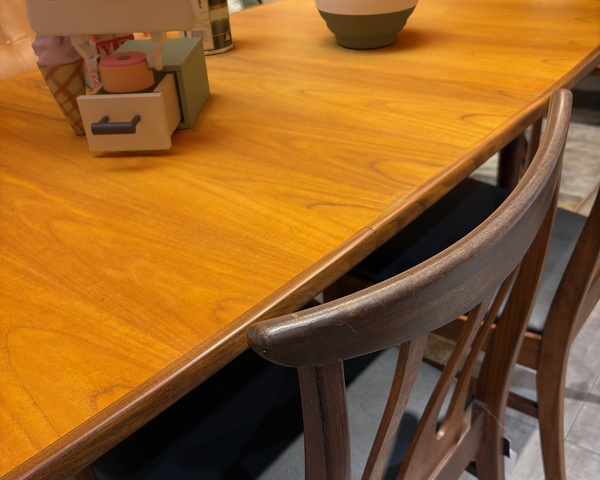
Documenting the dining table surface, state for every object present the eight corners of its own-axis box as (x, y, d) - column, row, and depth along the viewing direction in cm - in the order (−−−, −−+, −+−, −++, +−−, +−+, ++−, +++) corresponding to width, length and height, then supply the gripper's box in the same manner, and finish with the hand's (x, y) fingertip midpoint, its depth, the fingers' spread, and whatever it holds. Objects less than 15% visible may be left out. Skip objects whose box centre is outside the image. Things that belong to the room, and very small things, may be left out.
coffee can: (225, 39, 125) (216, -39, 117) (239, 50, 117) (230, -32, 109) (176, 46, 122) (163, -33, 114) (186, 58, 115) (173, -26, 106)
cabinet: (191, 128, 85) (180, 64, 80) (110, 130, 86) (95, 68, 81) (210, 94, 97) (202, 36, 92) (139, 96, 98) (127, 39, 93)
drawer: (161, 163, 74) (150, 107, 70) (78, 165, 75) (63, 110, 71) (192, 112, 88) (184, 63, 84) (121, 114, 89) (110, 66, 85)
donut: (96, 93, 76) (89, 65, 74) (112, 77, 81) (106, 51, 79) (147, 92, 75) (141, 63, 73) (159, 76, 80) (155, 49, 78)
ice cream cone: (56, 129, 88) (22, 17, 79) (100, 120, 90) (71, 10, 81) (61, 144, 83) (25, 26, 74) (107, 135, 85) (78, 19, 76)
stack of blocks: (68, 73, 111) (47, -1, 104) (101, 66, 114) (84, -7, 106) (109, 102, 96) (89, 18, 89) (146, 93, 99) (129, 11, 92)
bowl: (390, 25, 127) (392, -27, 121) (436, 46, 112) (441, -11, 106) (301, 37, 122) (299, -15, 117) (336, 62, 107) (335, 2, 102)
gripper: (-2, -48, 67) (36, 80, 75) (181, -57, 65) (200, 75, 74) (22, -55, 72) (56, 65, 80) (193, -64, 70) (209, 60, 79)
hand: (126, 70), depth 77 cm, fingers closed on donut, 6 cm apart
